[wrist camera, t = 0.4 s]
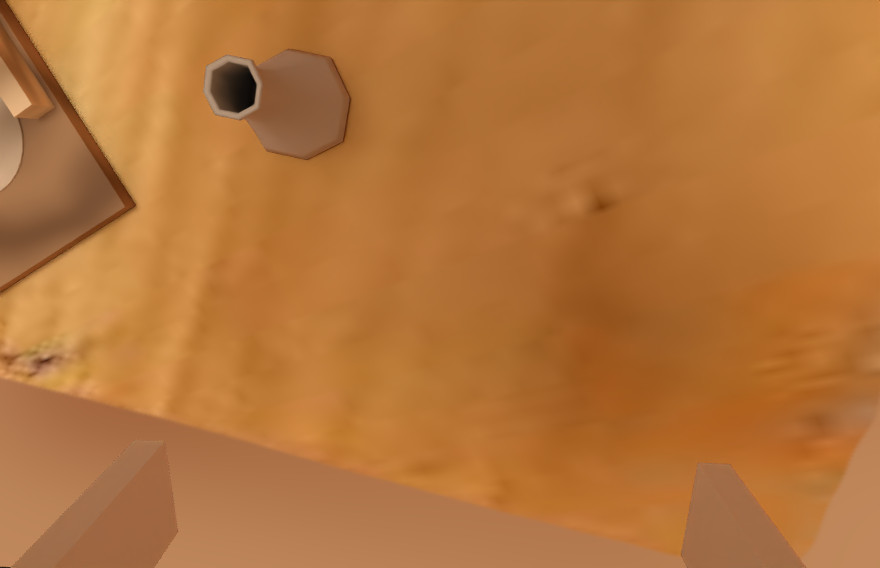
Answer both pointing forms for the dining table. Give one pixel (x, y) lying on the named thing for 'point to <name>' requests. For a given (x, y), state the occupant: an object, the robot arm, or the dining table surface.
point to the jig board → (45, 163)
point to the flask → (282, 100)
